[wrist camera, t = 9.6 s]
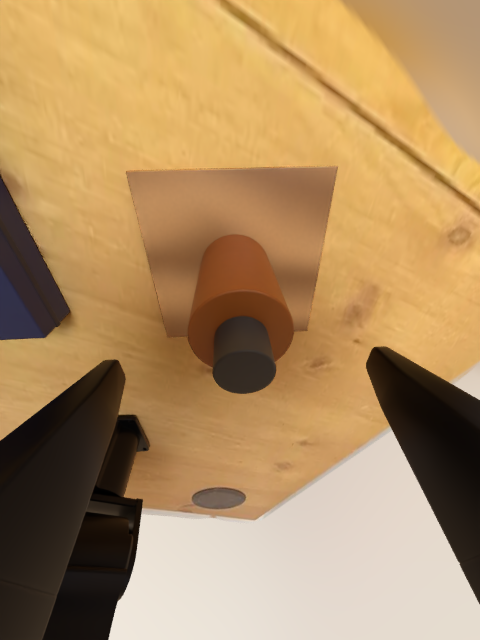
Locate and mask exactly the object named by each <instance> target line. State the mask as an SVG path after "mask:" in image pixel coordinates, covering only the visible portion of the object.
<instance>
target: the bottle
mask: <svg viewBox="0 0 480 640" xmlns="http://www.w3.org/2000/svg"><path fill="white" fill-rule="evenodd" d="M293 334H294V322H293V319H292V316H291V313H290V311H289V308H288V306H287V303H286V301H285V298H284V296H283V293H282V291H281V289H280V286H279V284H278V281H277V279H276V276H275V274H274V271H273V269H272V266H271V264H270V261H269V259H268V257H267V254H266V252H265V250H264V249H263V247H262V246H261V245H260V244H259V243H258V242H257V241H255V240H254V239H252V238H250V237H247V236H244V235H238V234H233V235H227V236H223V237H221V238H219V239H217V240H215V241H214V242H213V243H211V244H210V245H209V247H208V248H207V249H206V251H205V252H204V254H203V257H202V261H201V265H200V270H199V275H198V280H197V285H196V290H195V294H194V299H193V304H192V309H191V314H190V318H189V323H188V330H187V335H188V341H189V344H190V346H191V348H192V350H193V352H194V353H195V354H196V356H197V357H198V358H199V359H200V360H201V361H203V362H204V363H205V364H207V365H209V366H211V367H213V377H214V380H215V381H216V383H217V384H218V385H219V386H220V387H221V388H223V389H224V390H226V391H229V392H232V393H239V394H246V393H253V392H256V391H259V390H261V389H263V388H265V387H266V386H268V385H269V384H270V383H271V382H272V380H273V379H274V377H275V374H276V365H275V362H276V361H277V360H278V359H279V358H280V357H281V356H282V355H283V354H284V353H285V352H286V351H287V349H288V348H289V346H290V344H291V341H292V339H293Z"/></svg>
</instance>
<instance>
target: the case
mask: <svg viewBox="0 0 480 640" xmlns="http://www.w3.org/2000/svg"><path fill="white" fill-rule="evenodd" d="M69 312H70V310H69V308H68V306H67V305H66V303H65V301H64V299H63V297H62V295H61V293H60V291H59V289H58V287H57V285H56V283H55V281H54V279H53V278H52V276H51V274H50V272H49V270H48V268H47V266H46V264H45V262H44V260H43V258H42V256H41V254H40V252H39V251H38V249H37V247H36V245H35V243H34V241H33V239H32V237H31V235H30V233H29V231H28V229H27V227H26V225H25V224H24V222H23V220H22V218H21V216H20V214H19V212H18V210H17V208H16V206H15V204H14V202H13V200H12V198H11V197H10V195H9V193H8V191H7V189H6V187H5V185H4V183H3V181H2V179H1V177H0V340H9V339H30V338H45V337H46V336H47V335H48V334H49V333H50V332H51V331H52V330H53V329H54V328H55V327H58V326H59V325H60V324H61V323H60V322H61V321H62V320H63V319H64V318H65V317H66V315H67V314H68V313H69Z"/></svg>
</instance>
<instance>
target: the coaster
mask: <svg viewBox="0 0 480 640" xmlns="http://www.w3.org/2000/svg"><path fill="white" fill-rule="evenodd" d="M337 168H338V166H307V167H265V168H222V169H180V170H138V171H126V174H127V178H128V182H129V186H130V190H131V194H132V198H133V202H134V206H135V210H136V214H137V218H138V221H139V225H140V229H141V233H142V237H143V241H144V245H145V249H146V253H147V257H148V261H149V265H150V269H151V273H152V277H153V281H154V285H155V289H156V293H157V297H158V301H159V305H160V309H161V313H162V317H163V321H164V325H165V329H166V333H167V337H187V336H188V335H187V330H188V323H189V318H190V314H191V309H192V304H193V299H194V294H195V290H196V285H197V280H198V275H199V270H200V265H201V261H202V257H203V254H204V252H205V251H206V249H207V248H208V247H209V245H210V244H211V243H213V242H214V241H215V240H217V239H219V238H221V237H223V236H227V235H233V234H238V235H244V236H247V237H250V238H252V239H254V240H255V241H257V242H258V243H259V244H260V245H261V246H262V247H263V249H264V250H265V252H266V254H267V257H268V259H269V261H270V264H271V266H272V269H273V271H274V274H275V276H276V279H277V281H278V284H279V286H280V289H281V291H282V293H283V296H284V298H285V301H286V303H287V306H288V308H289V311H290V313H291V316H292V319H293V322H294V331H307V329H308V324H309V318H310V313H311V308H312V302H313V297H314V292H315V286H316V281H317V276H318V270H319V265H320V259H321V254H322V249H323V243H324V238H325V233H326V227H327V222H328V217H329V211H330V206H331V201H332V195H333V190H334V185H335V179H336V174H337Z"/></svg>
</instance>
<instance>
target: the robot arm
mask: <svg viewBox="0 0 480 640" xmlns="http://www.w3.org/2000/svg"><path fill="white" fill-rule="evenodd" d="M366 369H367V372H368V374H369V377H370V380H371V382H372V385H373V388H374V390H375V393H376V396H377V398H378V401H379V403H380V406H381V408H382V410H383V412H384V415H385V417H386V419H387V421H388V423H389V425H390V426H391V428H392V430H393V432H394V434H395V436H396V438H397V440H398V442H399V444H400V446H401V448H402V450H403V452H404V454H405V456H406V458H407V460H408V462H409V464H410V466H411V468H412V470H413V472H414V474H415V476H416V478H417V480H418V482H419V484H420V486H421V488H422V490H423V492H424V494H425V496H426V498H427V500H428V502H429V504H430V506H431V508H432V510H433V512H434V514H435V516H436V518H437V520H438V522H439V524H440V526H441V528H442V530H443V532H444V534H445V536H446V538H447V540H448V542H449V544H450V546H451V548H452V550H453V552H454V554H455V556H456V558H457V560H458V562H459V563H460V566H461V568H462V570H463V572H464V574H465V576H466V578H467V580H468V582H469V584H470V586H471V588H472V590H473V592H474V594H475V596H476V598H477V600H478V602H479V604H480V400H478V399H477V398H475V397H473V396H471V395H470V394H468V393H466V392H464V391H463V390H461V389H459V388H458V387H456V386H454V385H452V384H451V383H449V382H447V381H445V380H444V379H442V378H440V377H438V376H437V375H435V374H433V373H431V372H430V371H428V370H426V369H424V368H423V367H421V366H419V365H417V364H416V363H414V362H412V361H411V360H409V359H407V358H405V357H404V356H402V355H400V354H398V353H397V352H395V351H393V350H391V349H390V348H388V347H384V346H383V347H374V348H373V349H372V350H371V353H370V355H369V358H368V360H367V363H366ZM125 380H126V378H125V374H124V372H123V369H122V367H121V365H120V363H119V361H118V360H105V361H103V362H101V363H100V364H99V365H98V366H96V367H95V368H94V369H92V370H91V371H90V372H89V373H87V374H86V375H85V376H83V377H82V378H81V379H80V380H78V381H77V382H76V383H74V384H73V385H72V386H70V387H69V388H68V389H67V390H65V391H64V392H63V393H61V394H60V395H59V396H58V397H56V398H55V399H54V400H52V401H51V402H50V403H49V404H47V405H46V406H45V407H43V408H42V409H41V410H40V411H38V412H37V413H36V414H34V415H33V416H32V417H31V418H29V419H28V420H27V421H25V422H24V423H23V424H21V425H20V426H19V427H18V428H16V429H15V430H14V431H12V432H11V433H10V434H9V435H7V436H6V437H5V438H3V439H2V440H1V441H0V640H108V638H109V634H110V629H111V625H112V621H113V617H114V613H115V609H116V605H117V602H118V600H120V599H121V597H122V596H123V594H124V592H125V590H126V587H127V585H128V582H129V580H130V577H131V574H132V570H133V566H134V562H135V558H136V551H137V544H138V535H139V527H140V519H141V511H142V503H143V499H138V498H137V499H131V498H125V497H124V494H125V490H126V487H127V483H128V480H129V477H130V473H131V470H132V466H133V463H134V459H135V456H136V452H139V451H148V450H149V447H150V445H149V443H148V441H147V438H146V436H145V434H144V432H143V430H142V428H141V426H140V424H139V421H138V419H137V418H136V417H135V416H121V417H118V413H119V408H120V404H121V399H122V395H123V390H124V386H125Z"/></svg>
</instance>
